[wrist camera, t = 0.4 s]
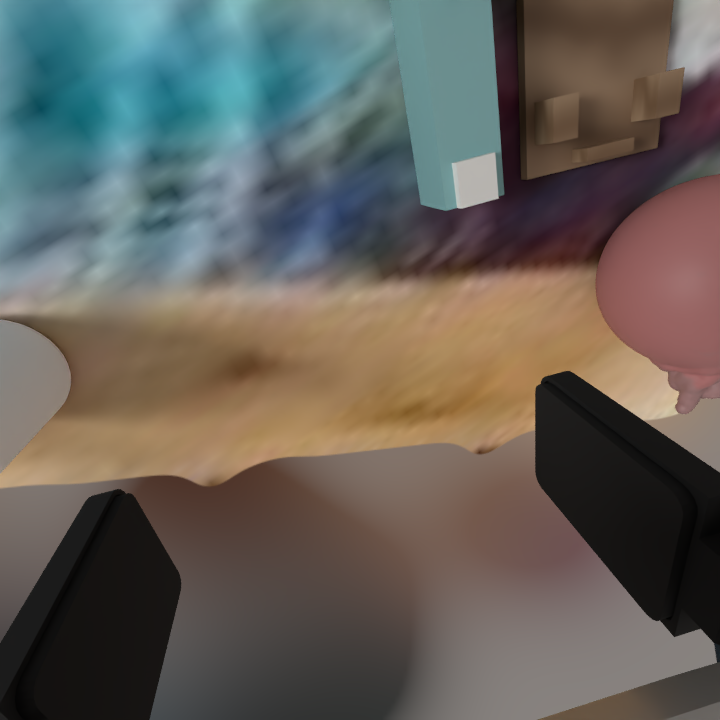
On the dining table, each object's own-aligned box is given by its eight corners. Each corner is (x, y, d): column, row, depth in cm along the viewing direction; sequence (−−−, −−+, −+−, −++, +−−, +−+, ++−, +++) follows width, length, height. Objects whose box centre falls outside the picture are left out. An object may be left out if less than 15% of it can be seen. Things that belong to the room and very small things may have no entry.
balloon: (539, 375, 45) (655, 467, 31) (577, 174, 36) (759, 178, 22) (663, 362, 47) (821, 442, 33) (725, 170, 38) (973, 170, 25)
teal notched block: (388, -2, 29) (426, -63, 21) (448, -17, 29) (507, -82, 21) (420, 204, 35) (458, 214, 27) (470, 190, 35) (521, 196, 28)
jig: (512, -151, 26) (543, -194, 23) (681, -183, 27) (733, -229, 24) (521, 179, 35) (544, 180, 32) (648, 148, 36) (682, 146, 33)
